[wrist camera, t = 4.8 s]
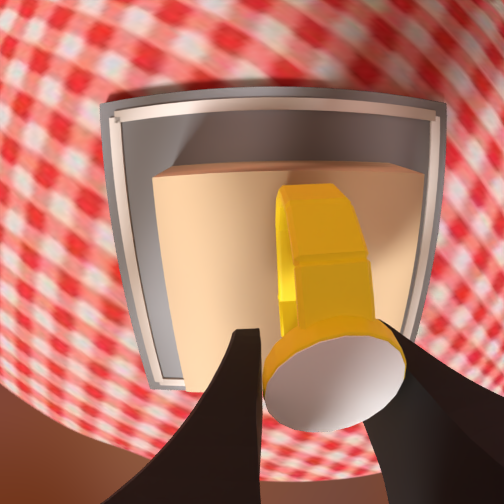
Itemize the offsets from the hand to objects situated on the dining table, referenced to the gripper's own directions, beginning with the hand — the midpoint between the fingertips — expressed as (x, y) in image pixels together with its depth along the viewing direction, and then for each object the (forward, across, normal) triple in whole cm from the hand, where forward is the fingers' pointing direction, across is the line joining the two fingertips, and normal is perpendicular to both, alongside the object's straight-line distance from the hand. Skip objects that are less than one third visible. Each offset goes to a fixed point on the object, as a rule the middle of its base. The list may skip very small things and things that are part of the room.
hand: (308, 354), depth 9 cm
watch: (+3, 0, -2) cm, 4 cm away
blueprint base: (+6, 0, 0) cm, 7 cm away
